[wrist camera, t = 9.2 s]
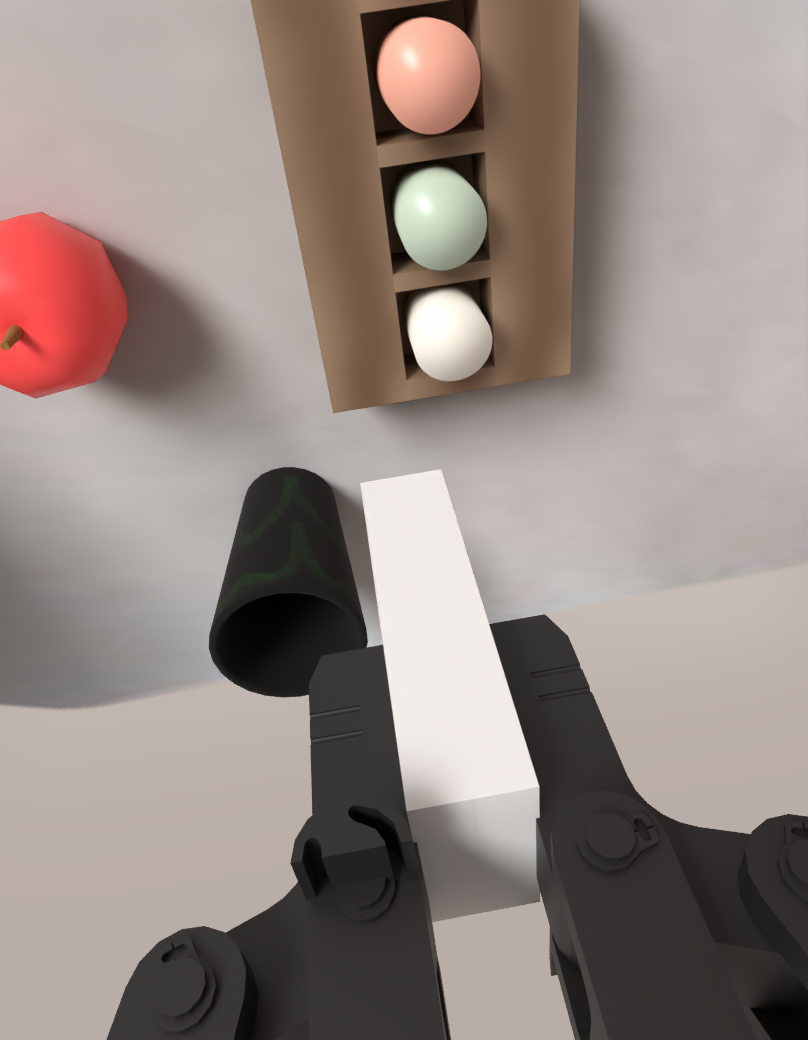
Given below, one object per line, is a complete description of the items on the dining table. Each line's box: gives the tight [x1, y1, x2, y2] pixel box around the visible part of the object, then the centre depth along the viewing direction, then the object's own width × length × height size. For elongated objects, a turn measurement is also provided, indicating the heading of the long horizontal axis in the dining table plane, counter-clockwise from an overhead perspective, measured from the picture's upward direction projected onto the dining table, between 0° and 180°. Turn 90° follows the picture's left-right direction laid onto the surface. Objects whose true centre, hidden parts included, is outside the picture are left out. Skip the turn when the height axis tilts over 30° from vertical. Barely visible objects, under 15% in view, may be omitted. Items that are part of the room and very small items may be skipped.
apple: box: [0, 212, 128, 398], centre depth 32 cm, size 8×8×8 cm
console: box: [251, 0, 580, 413], centre depth 33 cm, size 12×17×5 cm
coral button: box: [373, 15, 480, 134], centre depth 28 cm, size 4×4×4 cm
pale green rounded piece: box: [390, 159, 487, 271], centre depth 31 cm, size 4×4×4 cm
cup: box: [209, 467, 368, 697], centre depth 40 cm, size 8×8×12 cm
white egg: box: [403, 282, 492, 381], centre depth 34 cm, size 4×4×4 cm
